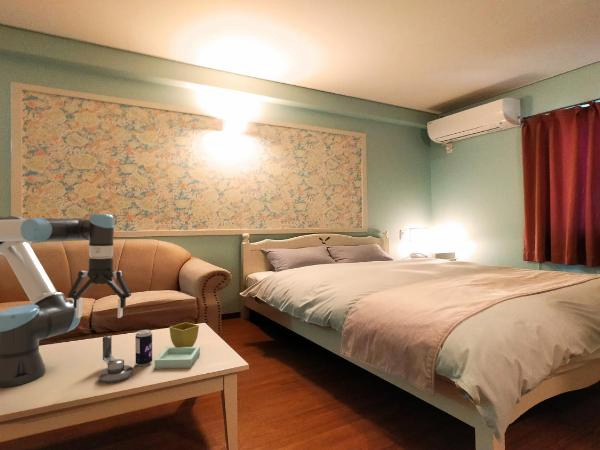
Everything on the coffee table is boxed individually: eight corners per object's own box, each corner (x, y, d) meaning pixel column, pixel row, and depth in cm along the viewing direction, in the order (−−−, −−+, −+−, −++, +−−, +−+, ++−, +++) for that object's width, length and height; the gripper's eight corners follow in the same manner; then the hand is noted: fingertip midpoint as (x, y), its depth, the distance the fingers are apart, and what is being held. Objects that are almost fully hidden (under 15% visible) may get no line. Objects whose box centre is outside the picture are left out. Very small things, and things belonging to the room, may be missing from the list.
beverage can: (145, 367, 127) (145, 334, 127) (132, 366, 128) (132, 333, 128) (155, 361, 132) (155, 329, 132) (142, 360, 133) (142, 328, 133)
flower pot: (199, 346, 149) (199, 325, 149) (182, 352, 141) (182, 330, 141) (185, 342, 153) (185, 322, 153) (168, 348, 146) (168, 327, 146)
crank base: (92, 383, 113) (92, 376, 113) (108, 371, 123) (108, 364, 123) (124, 383, 114) (124, 376, 114) (137, 370, 124) (137, 364, 124)
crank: (126, 370, 119) (126, 344, 119) (109, 375, 115) (109, 348, 115) (113, 358, 130) (113, 334, 130) (98, 362, 126) (98, 337, 126)
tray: (154, 368, 126) (154, 360, 126) (166, 355, 139) (166, 347, 139) (191, 367, 126) (191, 359, 126) (199, 354, 139) (199, 346, 139)
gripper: (57, 258, 119) (55, 320, 119) (134, 259, 122) (133, 319, 122) (68, 255, 126) (67, 314, 127) (141, 256, 130) (140, 313, 130)
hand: (99, 317), depth 124 cm, fingers open, 13 cm apart
